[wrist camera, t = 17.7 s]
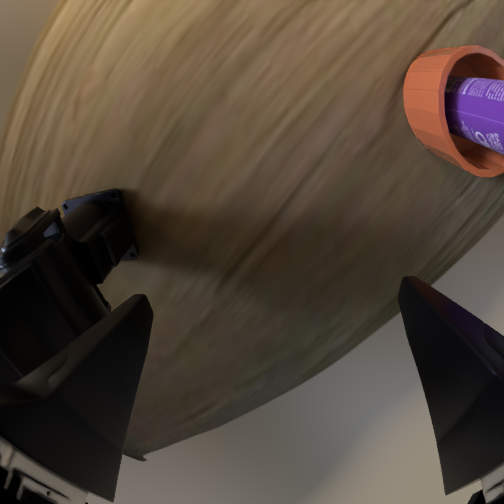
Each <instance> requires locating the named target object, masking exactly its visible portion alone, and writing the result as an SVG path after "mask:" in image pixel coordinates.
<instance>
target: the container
mask: <svg viewBox="0 0 504 504" xmlns="http://www.w3.org/2000/svg"><path fill="white" fill-rule="evenodd" d="M444 101H445V117H446V121H447V125H448V130H449V133H451V134H454V135H456V136H459V137H462V138H464V139H467V140H470V141H472V142H475V143H477V144H480V145H482V146H484V147H487V148H489V149H491V150H494V151H496V152H498V153H500V154H502V155H504V81H503V80H495V79H485V78H474V77H457V76H448V78H447V83H446V88H445V93H444Z"/></svg>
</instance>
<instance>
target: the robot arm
mask: <svg viewBox="0 0 504 504" xmlns="http://www.w3.org/2000/svg"><path fill="white" fill-rule="evenodd" d="M113 193H115V194H116V196H117V197H115V196H114V195H113ZM66 204H67V205H68V207H67V206H66ZM62 208H63V211H64V214H65V217H63V218H62V219H61V218H60V215H61V214H60V212H59V210H58V208H56V209H54V210H52V211H50V210H48V211H44V210H42V209H40V208H39V207H36V208H34V209H32V210H31V211H30V212H28V213H27V214H26V215H24V216H23V217H22V218H20V219H19V220H18V221H17V222H16V223H15V224H14V225H13V226H12V227H11V228H10V229H9V230H8V231H7V233H6V236H5V239H4V240H3V242H2V243H1V245H0V504H88V503H87V502H86V498H87V494H88V493H89V494H91V495H94V496H96V497H99V498H102V499H104V500H107V501H110V502H114V497H115V491H116V485H117V480H118V474H119V469H120V464H121V459H122V454H123V453H122V452H123V448H124V443H125V438H126V434H127V429H128V425H129V421H130V416H131V412H132V408H133V404H134V400H135V396H136V392H137V388H138V384H139V380H140V376H141V373H142V369H143V365H144V362H145V358H146V354H147V350H148V345H149V339H150V333H151V327H152V322H153V310H152V308H151V306H150V303H149V301H148V298H147V296H146V295H144V294H135V295H133V296H132V297H130V298H129V299H128V300H126V301H125V302H124V303H122V304H121V305H120V306H118V307H117V308H116V309H114V310H113V311H112V312H111V306H110V304H109V303H108V301H106V300H105V299H104V297H103V295H102V294H101V292H100V290H99V289H98V287H97V284H101V283H103V282H104V280H105V279H106V277H107V276H108V274H109V273H110V272H111V270H112V269H113V267H116V266H117V265H118V264H119V262H120V261H124V260H135V259H137V258H138V256H139V254H140V253H139V249H138V247H137V244H136V241H135V240H136V237H135V234H134V231H133V228H132V224H131V221H130V218H129V215H128V213H127V212H126V209H125V205H124V202H123V198H122V195H121V192H120V191H119V190H118V189H111V190H106V191H102V192H97V193H93V194H89V195H85V196H80V197H76V198H72V199H68V200H66V201H64V202H63V203H62ZM132 252H133V253H135V255H134V254H133V253H132ZM398 302H399V306H400V310H401V314H402V318H403V322H404V326H405V330H406V334H407V338H408V342H409V345H410V347H411V351H412V354H413V357H414V360H415V363H416V366H417V369H418V372H419V376H420V379H421V383H422V386H423V390H424V393H425V397H426V400H427V404H428V408H429V412H430V416H431V420H432V424H433V429H434V433H435V438H436V442H437V448H438V453H439V458H440V464H441V469H442V476H443V483H444V490H445V495H448V494H451V493H453V492H455V491H458V490H460V489H462V488H465V487H467V486H469V485H471V484H473V483H475V482H477V481H479V480H481V484H482V490H480V491H478V492H476V493H474V494H473V495H472V497H471V498H470V500H469V502H468V504H504V336H503V335H501V334H500V333H498V332H497V331H495V330H494V329H493V328H491V327H490V326H489V325H487V324H486V323H484V322H483V321H482V320H480V319H479V318H477V317H476V316H474V315H473V314H471V313H470V312H468V311H467V310H466V309H464V308H463V307H461V306H460V305H458V304H457V303H455V302H454V301H452V300H451V299H449V298H448V297H446V296H445V295H443V294H442V293H440V292H439V291H437V290H435V289H434V288H432V287H431V286H429V285H428V284H426V283H425V282H423V281H422V280H420V279H418V278H417V277H415V276H405V277H403V278H402V281H401V285H400V290H399V295H398Z"/></svg>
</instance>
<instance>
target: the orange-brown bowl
mask: <svg viewBox="0 0 504 504" xmlns="http://www.w3.org/2000/svg"><path fill="white" fill-rule="evenodd" d="M448 76H457V77H474V78H485V79H495V80H503V81H504V60H503V59H502V58H500V57H499V56H498V55H497V54H495V53H494V52H493V51H492V50H489V49H487V48H484V47H481V46H478V45H471V46H459V47H450V48H442V49H435V50H430V51H427V52H424V53H423V54H421V55H420V56H418V57H417V58H416V59H415V60H414V62H413V63H412V64H411V66H410V68H409V69H408V72H407V74H406V77H405V81H404V88H403V101H404V108H405V113H406V116H407V119H408V122H409V124H410V127H411V129H412V131H413V132H414V134H415V136H416V137H417V138H418V140H419V141H420V142H421V143H422V144H423V145H424V146H425V147H426V148H427V149H428V150H430V151H431V152H433V153H434V154H436V155H438V156H440V157H442V158H444V159H446V160H448V161H449V162H451V163H453V164H455V165H457V166H459V167H461V168H463V169H464V170H466V171H468V172H470V173H472V174H474V175H476V176H478V177H494V176H497V175H499V174H502V173H504V155H502V154H500V153H498V152H496V151H494V150H491V149H489V148H487V147H484V146H482V145H480V144H477V143H475V142H472V141H470V140H467V139H464V138H462V137H459V136H456V135H454V134H451V133H449V130H448V125H447V121H446V117H445V101H444V93H445V88H446V83H447V78H448Z"/></svg>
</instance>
